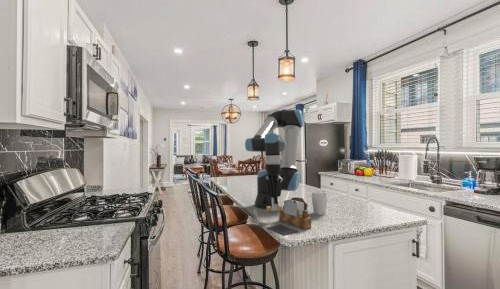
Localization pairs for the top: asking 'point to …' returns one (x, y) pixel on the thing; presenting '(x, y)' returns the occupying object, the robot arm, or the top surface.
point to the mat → (282, 229)
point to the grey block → (293, 207)
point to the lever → (274, 210)
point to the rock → (300, 201)
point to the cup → (319, 202)
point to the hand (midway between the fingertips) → (274, 210)
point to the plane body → (296, 219)
